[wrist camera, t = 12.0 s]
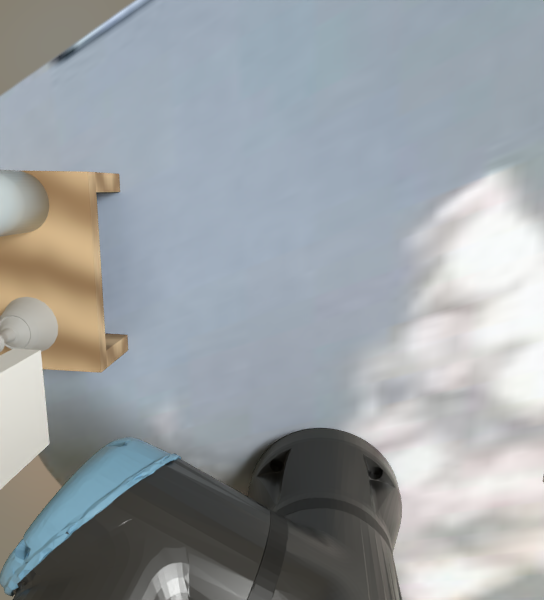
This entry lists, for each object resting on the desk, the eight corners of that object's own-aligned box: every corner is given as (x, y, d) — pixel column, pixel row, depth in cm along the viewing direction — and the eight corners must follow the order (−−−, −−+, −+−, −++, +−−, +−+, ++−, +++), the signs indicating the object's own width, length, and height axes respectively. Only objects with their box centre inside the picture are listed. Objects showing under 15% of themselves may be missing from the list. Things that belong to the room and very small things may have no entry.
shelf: (128, 350, 48) (101, 372, 42) (14, 343, 49) (-27, 364, 44) (119, 173, 44) (88, 171, 38) (-4, 171, 45) (-52, 169, 40)
